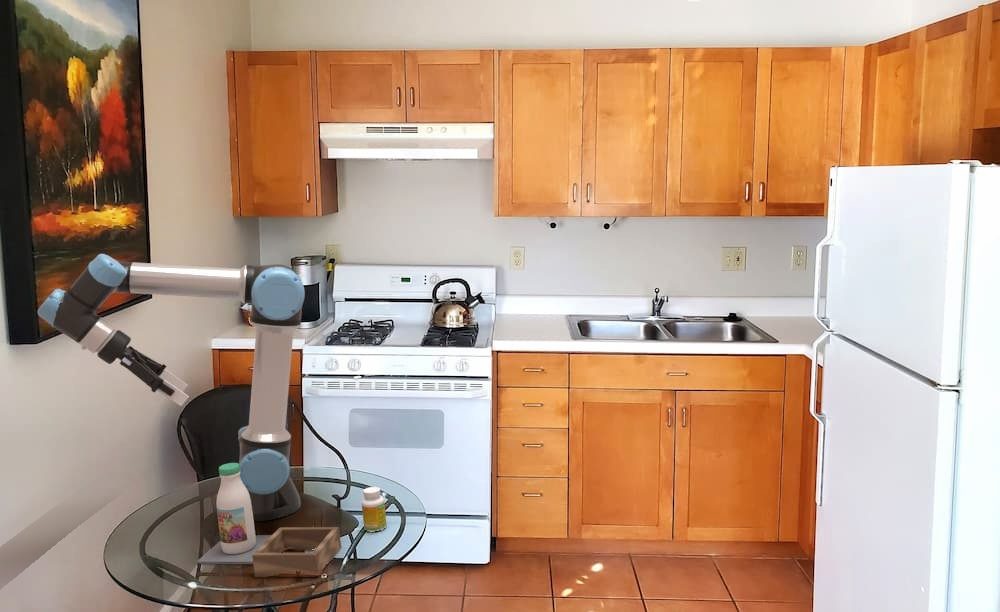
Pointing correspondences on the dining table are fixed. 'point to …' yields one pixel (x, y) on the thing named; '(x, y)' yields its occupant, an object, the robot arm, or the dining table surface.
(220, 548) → the rubber mat
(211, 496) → the dining table surface
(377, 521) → the supplement bottle
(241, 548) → the milk bottle
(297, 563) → the walnut crate
